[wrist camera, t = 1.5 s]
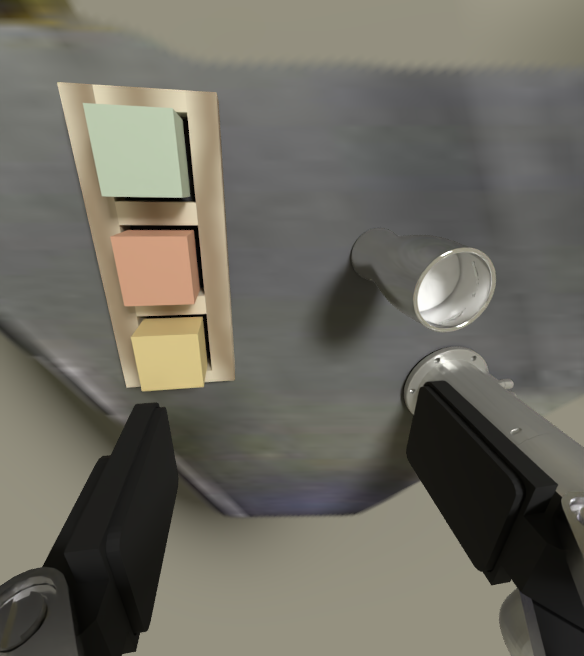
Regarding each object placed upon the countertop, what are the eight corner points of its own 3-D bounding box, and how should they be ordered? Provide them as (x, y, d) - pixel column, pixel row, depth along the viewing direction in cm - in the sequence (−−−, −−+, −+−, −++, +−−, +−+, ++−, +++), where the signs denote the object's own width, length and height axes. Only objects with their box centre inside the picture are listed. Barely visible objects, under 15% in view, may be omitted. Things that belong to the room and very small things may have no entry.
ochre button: (202, 316, 34) (197, 333, 30) (207, 364, 36) (203, 386, 32) (144, 318, 33) (130, 336, 29) (152, 368, 36) (142, 391, 32)
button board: (218, 101, 29) (216, 92, 26) (235, 367, 40) (234, 380, 37) (75, 92, 27) (57, 82, 24) (134, 373, 38) (126, 387, 36)
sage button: (182, 120, 27) (172, 108, 23) (190, 196, 29) (182, 197, 25) (106, 116, 26) (82, 102, 22) (121, 195, 28) (101, 196, 24)
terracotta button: (193, 230, 30) (187, 236, 26) (199, 289, 33) (194, 304, 29) (127, 230, 30) (110, 236, 26) (139, 291, 32) (124, 306, 28)
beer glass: (345, 227, 35) (413, 252, 22) (404, 219, 36) (506, 237, 22) (348, 287, 38) (409, 342, 25) (403, 278, 39) (492, 326, 25)
